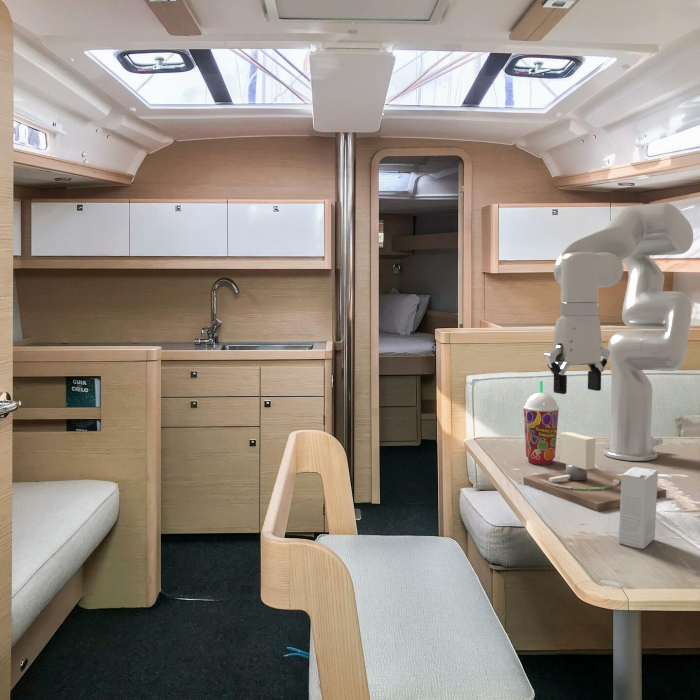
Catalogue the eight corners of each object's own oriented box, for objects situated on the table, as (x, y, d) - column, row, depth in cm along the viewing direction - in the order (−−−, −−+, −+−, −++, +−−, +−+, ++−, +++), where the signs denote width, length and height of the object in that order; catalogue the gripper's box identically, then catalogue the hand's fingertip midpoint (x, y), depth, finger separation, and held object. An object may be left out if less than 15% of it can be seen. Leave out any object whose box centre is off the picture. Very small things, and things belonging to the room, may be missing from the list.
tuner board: (587, 472, 156) (588, 464, 156) (666, 496, 137) (666, 488, 137) (523, 483, 148) (523, 475, 148) (597, 511, 129) (597, 502, 129)
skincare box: (629, 533, 117) (631, 465, 116) (656, 539, 114) (658, 469, 113) (617, 544, 113) (618, 473, 111) (645, 551, 110) (647, 477, 109)
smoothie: (539, 468, 160) (540, 384, 159) (515, 460, 168) (516, 380, 166) (565, 463, 164) (566, 382, 162) (541, 456, 172) (542, 378, 170)
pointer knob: (571, 472, 150) (571, 431, 149) (597, 480, 143) (598, 437, 143) (537, 477, 146) (538, 435, 145) (563, 486, 139) (563, 442, 138)
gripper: (595, 310, 150) (593, 386, 151) (534, 311, 142) (533, 392, 144) (622, 310, 143) (620, 391, 145) (560, 312, 136) (558, 397, 137)
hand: (577, 391), depth 144 cm, fingers open, 9 cm apart
